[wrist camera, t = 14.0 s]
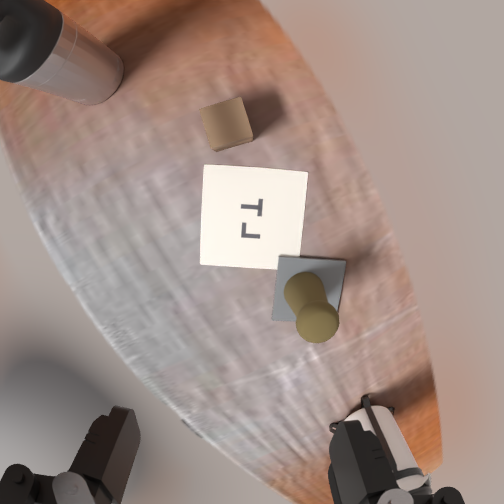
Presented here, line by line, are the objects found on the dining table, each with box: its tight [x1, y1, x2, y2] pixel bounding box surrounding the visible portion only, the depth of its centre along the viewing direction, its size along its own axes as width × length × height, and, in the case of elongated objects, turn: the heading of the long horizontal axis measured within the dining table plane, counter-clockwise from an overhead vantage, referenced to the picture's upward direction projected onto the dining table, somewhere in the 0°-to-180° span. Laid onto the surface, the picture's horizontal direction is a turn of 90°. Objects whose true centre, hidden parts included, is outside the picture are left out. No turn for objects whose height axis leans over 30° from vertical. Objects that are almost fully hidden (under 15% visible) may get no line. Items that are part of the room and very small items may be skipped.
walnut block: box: [199, 97, 253, 152], centre depth 33 cm, size 5×5×6 cm
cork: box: [284, 272, 339, 343], centre depth 37 cm, size 6×6×11 cm
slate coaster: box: [272, 256, 346, 321], centre depth 42 cm, size 10×10×1 cm
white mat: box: [200, 165, 308, 269], centre depth 40 cm, size 14×14×1 cm
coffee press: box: [328, 396, 432, 504], centre depth 37 cm, size 17×16×30 cm
